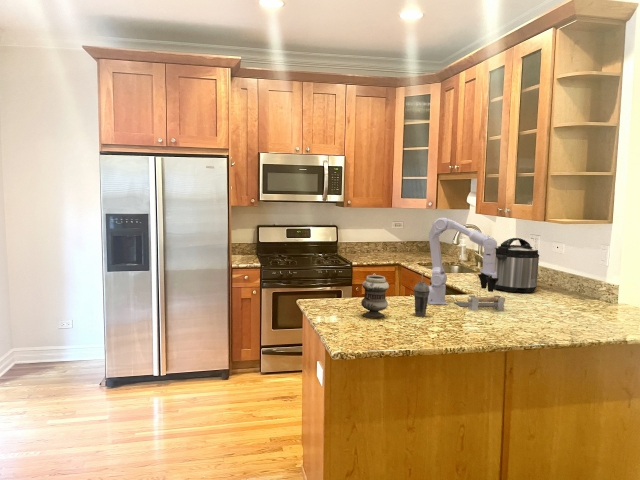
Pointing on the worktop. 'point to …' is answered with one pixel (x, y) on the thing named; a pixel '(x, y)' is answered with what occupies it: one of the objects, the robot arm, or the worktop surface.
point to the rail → (486, 299)
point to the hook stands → (496, 305)
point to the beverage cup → (421, 298)
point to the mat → (465, 304)
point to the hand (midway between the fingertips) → (487, 290)
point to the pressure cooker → (516, 266)
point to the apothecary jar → (375, 296)
